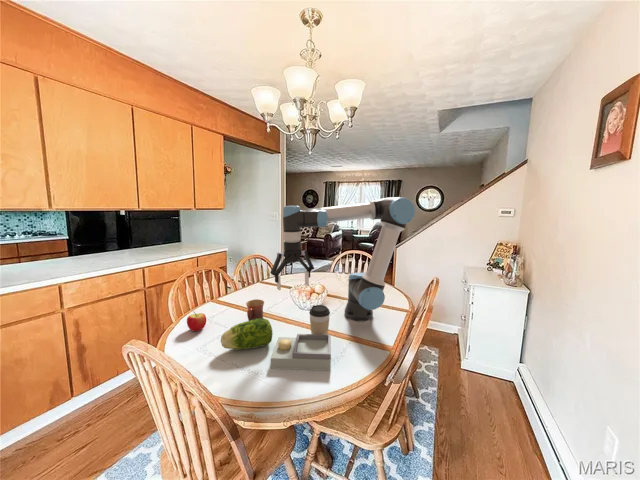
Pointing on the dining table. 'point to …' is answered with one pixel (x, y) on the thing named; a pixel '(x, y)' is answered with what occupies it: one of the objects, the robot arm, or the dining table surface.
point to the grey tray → (302, 352)
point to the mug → (255, 309)
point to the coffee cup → (319, 319)
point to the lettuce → (248, 335)
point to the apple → (196, 321)
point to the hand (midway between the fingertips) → (293, 287)
